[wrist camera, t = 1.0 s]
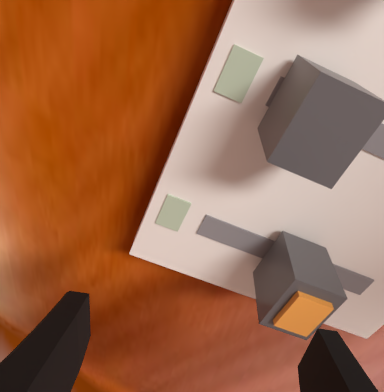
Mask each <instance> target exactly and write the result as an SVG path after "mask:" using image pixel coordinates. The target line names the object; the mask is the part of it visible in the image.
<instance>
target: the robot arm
mask: <svg viewBox="0 0 384 392" xmlns="http://www.w3.org/2000/svg"><path fill="white" fill-rule="evenodd" d="M90 336H91V334H90V305H89V294H87V293H80V292H74V291H69V292H67V293H66V294H65V295H64V296H63V297H62V299H61V300H60V301H59V302H58V303H57V304H56V306H55V307H54V308H53V309H52V310H51V311H50V312H49V313H48V314H47V316H46V317H45V318H44V319H43V320H42V321H41V322H40V323H39V324H38V325H37V326H36V327H35V329H34V330H33V331H32V332H31V333H30V334H29V335H28V336H27V337H26V338H25V339H24V340H23V341H22V342H21V343H20V344H19V345H18V346H17V347H16V348H15V349H14V350H13V351H12V352H11V353H10V354H9V355H8V356H7V357H6V358H5V359H4V360H3V361H2V362H1V363H0V392H71V389H72V387H73V384H74V382H75V380H76V377H77V375H78V373H79V370H80V368H81V365H82V361H83V358H84V355H85V352H86V349H87V345H88V342H89V339H90ZM298 373H299V384H300V392H378V390H377V389H376V387H375V386H374V385H373V383H372V382H371V380H370V379H369V377H368V376H367V374H366V373H365V372H364V370H363V369H362V367H361V366H360V364H359V363H358V361H357V360H356V358H355V357H354V356H353V354H352V353H351V351H350V350H349V348H348V347H347V345H346V344H345V342H344V341H343V339H342V338H341V337H340V335H339V334H338V332H337V331H331V330H325V329H317V331H316V333H315V335H314V337H313V338H312V340H311V342H310V344H309V346H308V348H307V350H306V352H305V354H304V356H303V358H302V360H301V362H300V363H299V365H298Z"/></svg>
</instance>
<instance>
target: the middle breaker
mask: <svg viewBox="0 0 384 392" xmlns="http://www.w3.org/2000/svg"><path fill="white" fill-rule="evenodd" d="M383 120H384V100H383V99H381V98H379V97H378V96H376V95H375V94H373V93H371V92H370V91H368V90H367V89H365V88H363V87H362V86H360V85H359V84H357V83H355V82H354V81H351V80H349V79H347V78H345V77H343V76H341V75H339V74H337V73H335V72H333V71H331V70H329V69H327V68H324V67H322V66H320V65H318V64H316V63H314V62H312V61H310V60H308V59H306V58H304V57H302V56H300V55H297V56H296V58H295V60H294V62H293V64H292V66H291V67H290V69H289V71H288V73H287V75H286V77H285V78H284V80H283V82H282V84H281V86H280V88H279V89H278V91H277V93H276V95H275V97H274V99H273V100H272V102H271V104H270V106H269V108H268V110H267V111H266V113H265V115H264V117H263V119H262V121H261V122H260V124H259V126H258V128H257V129H258V133H259V136H260V140H261V143H262V146H263V150H264V153H265V157H266V160H267V162H268V163H271V164H273V165H275V166H278V167H280V168H282V169H285V170H287V171H289V172H292V173H294V174H297V175H299V176H301V177H304V178H306V179H308V180H311V181H313V182H315V183H318V184H320V185H323V186H325V187H327V188H330V189H332V188H333V187H334V185H335V184H336V183H337V181H338V180H339V179H340V177H341V176H342V175H343V173H344V172H345V171H346V169H347V168H348V167H349V165H350V164H351V163H352V161H353V160H354V159H355V157H356V156H357V155H358V153H359V152H360V151H361V149H362V148H363V147H364V145H365V144H366V143H367V141H368V140H369V139H370V137H371V136H372V135H373V133H374V132H375V131H376V129H377V128H378V127H379V125H380V124H381V123H382V121H383Z"/></svg>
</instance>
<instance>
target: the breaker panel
mask: <svg viewBox="0 0 384 392" xmlns="http://www.w3.org/2000/svg"><path fill="white" fill-rule="evenodd" d="M297 55H300V56H302V57H304V58H306V59H308V60H310V61H312V62H314V63H316V64H318V65H320V66H322V67H324V68H327V69H329V70H331V71H333V72H335V73H337V74H339V75H341V76H343V77H345V78H347V79H349V80H351V81H354V82H355V83H357V84H359V85H360V86H362V87H363V88H365V89H367V90H368V91H370V92H371V93H373V94H375V95H376V96H378V97H379V98H381V99H383V100H384V0H232V3H231V5H230V8H229V10H228V12H227V15H226V17H225V20H224V22H223V25H222V27H221V29H220V32H219V34H218V37H217V39H216V41H215V44H214V46H213V49H212V51H211V54H210V56H209V58H208V61H207V63H206V66H205V68H204V71H203V73H202V75H201V78H200V80H199V83H198V85H197V88H196V90H195V92H194V95H193V97H192V100H191V102H190V104H189V107H188V109H187V112H186V114H185V117H184V119H183V121H182V124H181V126H180V129H179V131H178V134H177V136H176V138H175V141H174V143H173V146H172V148H171V151H170V153H169V155H168V158H167V160H166V163H165V165H164V167H163V170H162V172H161V175H160V177H159V180H158V182H157V184H156V187H155V189H154V192H153V194H152V197H151V199H150V201H149V204H148V206H147V209H146V211H145V214H144V216H143V218H142V221H141V223H140V226H139V228H138V231H137V233H136V236H135V239H134V242H133V244H132V247H131V250H130V253H129V254H130V255H133V256H136V257H138V258H141V259H144V260H147V261H150V262H152V263H155V264H158V265H161V266H164V267H166V268H169V269H172V270H175V271H178V272H180V273H183V274H186V275H189V276H192V277H194V278H197V279H200V280H203V281H206V282H208V283H211V284H214V285H217V286H220V287H222V288H225V289H228V290H231V291H234V292H236V293H239V294H242V295H245V296H248V297H251V298H253V299H256V294H255V286H254V278H253V271H254V270H255V269H256V267H257V266H258V264H259V263H260V262H261V260H262V259H263V257H264V256H265V255H266V253H267V252H268V250H269V249H270V248H271V246H272V245H273V243H274V242H275V241H276V239H277V238H278V236H279V235H280V234H281V232H282V231H285V232H287V233H290V234H292V235H295V236H298V237H300V238H303V239H305V240H308V241H310V242H313V243H315V244H318V245H320V246H323V247H325V248H326V249H327V251H328V254H329V256H330V258H331V261H332V263H333V265H334V268H335V270H336V272H337V275H338V277H339V280H340V282H341V284H342V287H343V289H344V291H345V294H346V296H347V298H348V299H347V300H346V301H345V302H344V303H343V304H342V305H341V306H340V307H339V308H338V309H337V310H336V311H335V312H334V313H333V314H332V315H331V316H330V317H329V318H328V319H327V320H326V321H325V322H324V323H323V324H326V325H329V326H332V327H335V328H337V329H340V330H343V331H346V332H349V333H351V334H354V335H357V336H360V337H363V338H365V339H368V338H369V337H370V336H371V335H372V334H373V333H374V332H376V331H377V330H378V329H379V328H380V327H381V326H382V325H384V120H383V121H382V123H381V124H380V125H379V127H378V128H377V129H376V131H375V132H374V133H373V135H372V136H371V137H370V139H369V140H368V141H367V143H366V144H365V145H364V147H363V148H362V149H361V151H360V152H359V153H358V155H357V156H356V157H355V159H354V160H353V161H352V163H351V164H350V165H349V167H348V168H347V169H346V171H345V172H344V173H343V175H342V176H341V177H340V179H339V180H338V181H337V183H336V184H335V185H334V187H333V188H332V189H330V188H327V187H325V186H323V185H320V184H318V183H315V182H313V181H311V180H308V179H306V178H304V177H301V176H299V175H297V174H294V173H292V172H289V171H287V170H285V169H282V168H280V167H278V166H275V165H273V164H271V163H268V162H267V160H266V157H265V153H264V150H263V146H262V143H261V140H260V136H259V133H258V129H257V128H258V126H259V124H260V122H261V121H262V119H263V117H264V115H265V113H266V111H267V110H268V108H269V106H270V104H271V102H272V100H273V99H274V97H275V95H276V93H277V91H278V89H279V88H280V86H281V84H282V82H283V80H284V78H285V77H286V75H287V73H288V71H289V69H290V67H291V66H292V64H293V62H294V60H295V58H296V56H297Z"/></svg>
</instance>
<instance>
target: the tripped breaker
mask: <svg viewBox="0 0 384 392" xmlns="http://www.w3.org/2000/svg"><path fill="white" fill-rule="evenodd" d="M253 278H254V286H255V294H256V303H257V311H258V319H259V324H261V325H264V326H267V327H270V328H273V329H276V330H278V331H281V332H284V333H287V334H290V335H293V336H296V337H299V338H302V339H304V340H307V339H308V338H309V337H310V336H311V335H312V334H313V333H314V332H315V331H316V330H317V329H318V328H319V327H320V326H321V325H322V324H323V323H324V322H325V321H326V320H327V319H328V318H329V317H330V316H331V315H332V314H333V313H334V312H335V311H336V310H337V309H338V308H339V307H340V306H341V305H342V304H343V303H344V302H345V301H346V300H347V299H348V298H347V296H346V294H345V291H344V289H343V287H342V284H341V282H340V280H339V277H338V275H337V272H336V270H335V268H334V265H333V263H332V261H331V258H330V256H329V254H328V251H327V249H326V248H325V247H323V246H320V245H318V244H315V243H313V242H310V241H308V240H305V239H303V238H300V237H298V236H295V235H292V234H290V233H287V232H285V231H282V232H281V234H280V235H279V236H278V238H277V239H276V241H275V242H274V243H273V245H272V246H271V248H270V249H269V250H268V252H267V253H266V255H265V256H264V257H263V259H262V260H261V262H260V263H259V264H258V266H257V267H256V269H255V270H254V271H253Z"/></svg>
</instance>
